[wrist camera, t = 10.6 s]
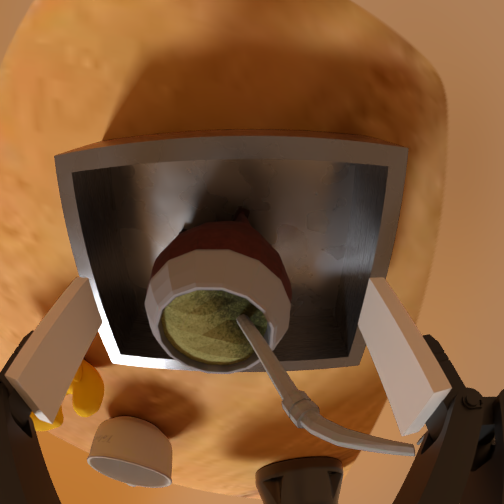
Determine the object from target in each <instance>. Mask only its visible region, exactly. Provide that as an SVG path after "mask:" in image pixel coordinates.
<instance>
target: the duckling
mask: <svg viewBox="0 0 504 504" xmlns="http://www.w3.org/2000/svg"><path fill="white" fill-rule="evenodd" d="M68 394H72V395H73V397H72V404H73V408H74V410H75V412H76V413H77V414H78V415H79V416H82V417H89V416H91V415H93V414H94V413H96V412H97V411H98V410H99V408H100V406H101V403H102V400H103V396H104V383H103V380H102V378H101V376H100V374H99V372H98V371H97V370H96V369H95V368H94V367H93V366H92V365H91V364H89V363H88V362H87V361H85V360H84V359H83V360H82V362H81V364H80V366H79V368H78V370H77V372H76V374H75V376H74V378H73V380H72V382H71V384H70V386H69V389H68V391H67V393H66V395H68ZM30 417H31V418H32V420H33V423H34V427H35V430H36V431H47V430H51V429H53V428H57V427H59V426H61V425H62V423H63V414H62V407H61V406H60V408H59V410H58V413H57V415H56V417H55V419H54V422H53V424H50V423H48V422H45V421H42V420H40V419H38V417H37V416H36V415H35V414H34V413H33V412H31V414H30Z"/></svg>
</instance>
